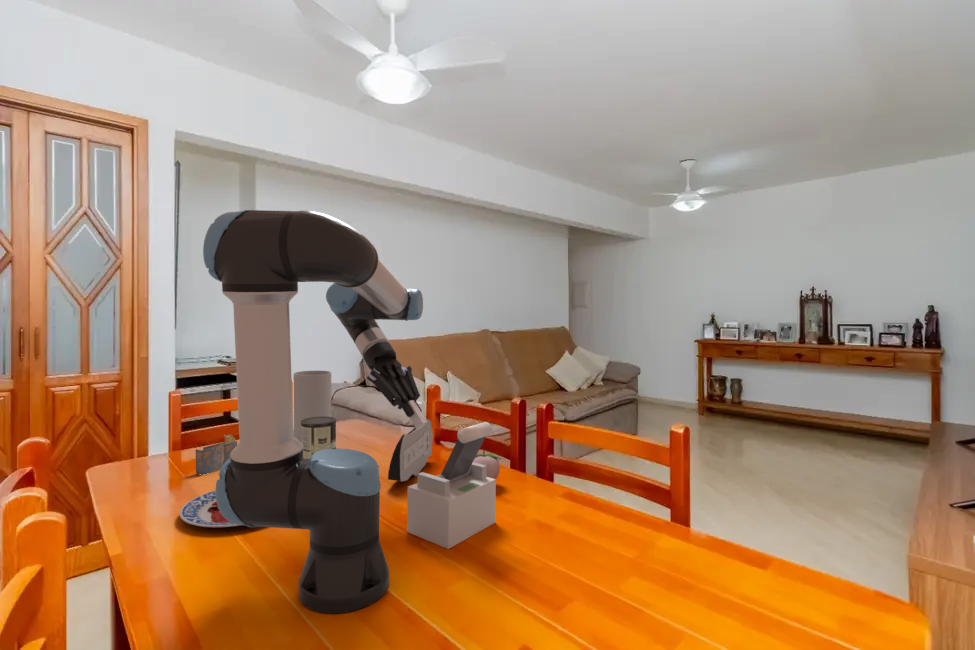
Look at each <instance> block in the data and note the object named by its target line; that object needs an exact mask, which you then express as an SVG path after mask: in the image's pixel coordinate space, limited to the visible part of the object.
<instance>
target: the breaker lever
mask: <svg viewBox="0 0 975 650" xmlns="http://www.w3.org/2000/svg"><path fill="white" fill-rule="evenodd" d="M492 432H493V427H492V425H491V424H490V423H489V422H488V421H484V422H481V423H477V424H474V425H470V426H467V427H464V428H459V429H458V431H457V433H456V434H457V435H456V436H457V441H456V442H455V444H454V445H453V448H452V451H451V453H450V455H449V457H448V458H447V461H446V463H445V465H444V467H443V469H442V471H441V473H440V474H441V475H440V474H438V475H439V476H437V475H436V476H437V477H440V478H444V479H447V480H450V483H452V482H455V481H457V480H460V479H462V478H465V477H467V476H470V475H471V474H472V469H471V465H472V463H473V461H474V459H475V457H476V455H477V453H479V450H480V449H481V447H482V445H483V442H484V441H485V439H486V438H487V437H488V436H490V435H491V434H492Z"/></svg>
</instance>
